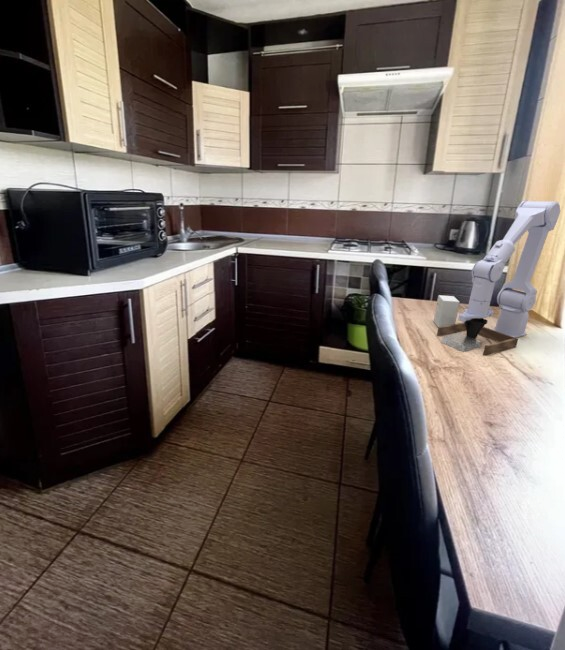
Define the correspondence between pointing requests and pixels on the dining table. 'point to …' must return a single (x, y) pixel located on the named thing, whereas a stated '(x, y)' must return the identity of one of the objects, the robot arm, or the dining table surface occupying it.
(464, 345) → the cover plate
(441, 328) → the brown u-shaped frame
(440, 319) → the small box
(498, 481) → the dining table surface
